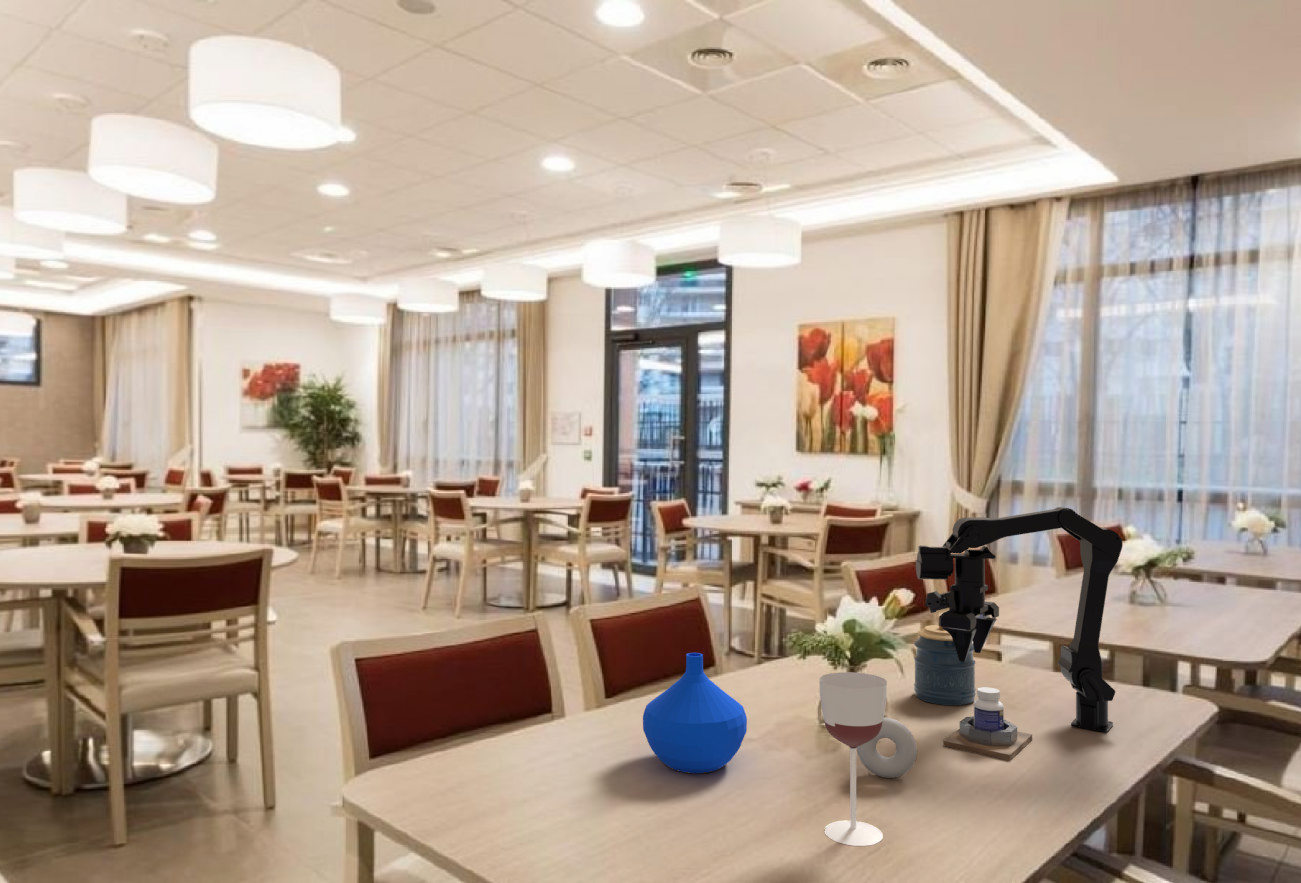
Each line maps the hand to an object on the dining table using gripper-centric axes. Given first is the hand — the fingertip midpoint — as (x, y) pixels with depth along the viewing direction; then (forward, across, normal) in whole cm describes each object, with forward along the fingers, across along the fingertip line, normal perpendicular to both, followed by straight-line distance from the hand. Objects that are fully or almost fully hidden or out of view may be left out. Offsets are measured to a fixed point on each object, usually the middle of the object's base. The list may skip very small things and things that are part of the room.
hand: (970, 657), depth 176 cm
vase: (+13, +54, -30) cm, 63 cm away
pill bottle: (+12, +11, +7) cm, 18 cm away
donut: (+13, +39, -1) cm, 41 cm away
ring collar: (+13, +11, +7) cm, 18 cm away
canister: (+13, -13, -10) cm, 21 cm away
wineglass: (+13, +62, +4) cm, 64 cm away
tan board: (+13, +11, +7) cm, 18 cm away
